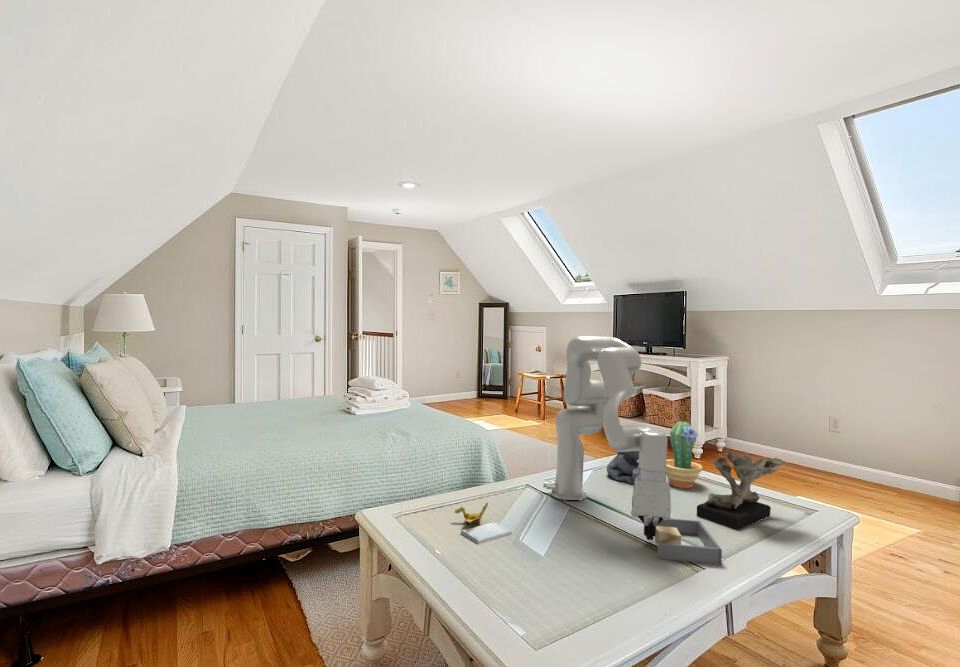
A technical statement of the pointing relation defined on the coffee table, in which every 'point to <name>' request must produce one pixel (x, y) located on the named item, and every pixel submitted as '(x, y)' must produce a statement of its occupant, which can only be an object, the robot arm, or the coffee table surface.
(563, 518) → the coffee table surface
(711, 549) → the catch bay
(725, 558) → the coffee table surface
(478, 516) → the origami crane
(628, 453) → the koala plush
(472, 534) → the hard drive
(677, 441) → the potted cactus
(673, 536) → the wooden block
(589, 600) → the coffee table surface
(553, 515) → the coffee table surface
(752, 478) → the coral
